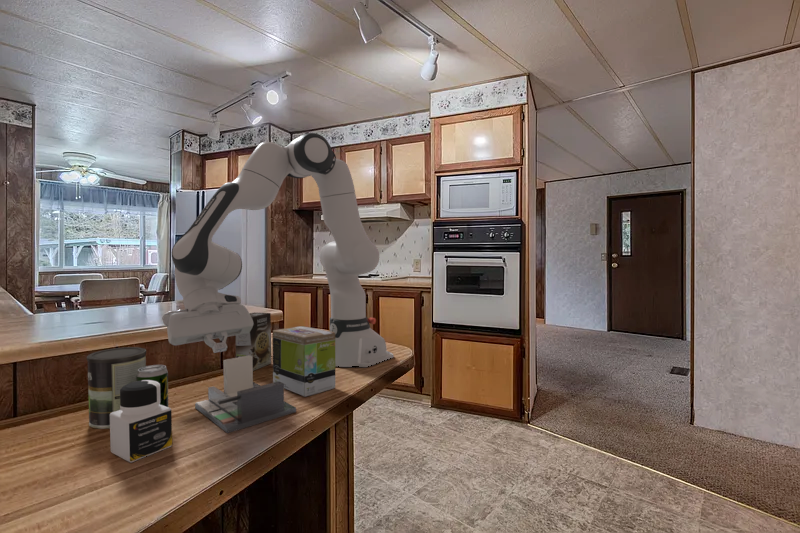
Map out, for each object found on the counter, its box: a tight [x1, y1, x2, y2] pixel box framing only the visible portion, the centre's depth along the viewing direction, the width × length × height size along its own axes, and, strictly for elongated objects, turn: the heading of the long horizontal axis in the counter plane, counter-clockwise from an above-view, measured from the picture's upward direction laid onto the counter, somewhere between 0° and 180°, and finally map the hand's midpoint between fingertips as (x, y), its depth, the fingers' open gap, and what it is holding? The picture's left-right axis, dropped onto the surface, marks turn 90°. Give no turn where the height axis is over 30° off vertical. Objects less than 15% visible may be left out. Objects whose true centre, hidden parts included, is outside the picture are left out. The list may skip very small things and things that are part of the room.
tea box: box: [272, 325, 336, 397], centre depth 108 cm, size 15×10×15 cm
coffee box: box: [235, 312, 272, 371], centre depth 126 cm, size 9×6×16 cm
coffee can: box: [86, 346, 147, 430], centre depth 87 cm, size 10×10×14 cm
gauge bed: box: [194, 381, 297, 434], centre depth 92 cm, size 15×18×7 cm
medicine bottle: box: [109, 380, 173, 463], centre depth 73 cm, size 7×7×12 cm
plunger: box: [218, 355, 254, 405], centre depth 90 cm, size 10×9×10 cm
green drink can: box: [136, 364, 169, 407], centre depth 82 cm, size 5×5×12 cm
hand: (220, 350), depth 102 cm, fingers closed
